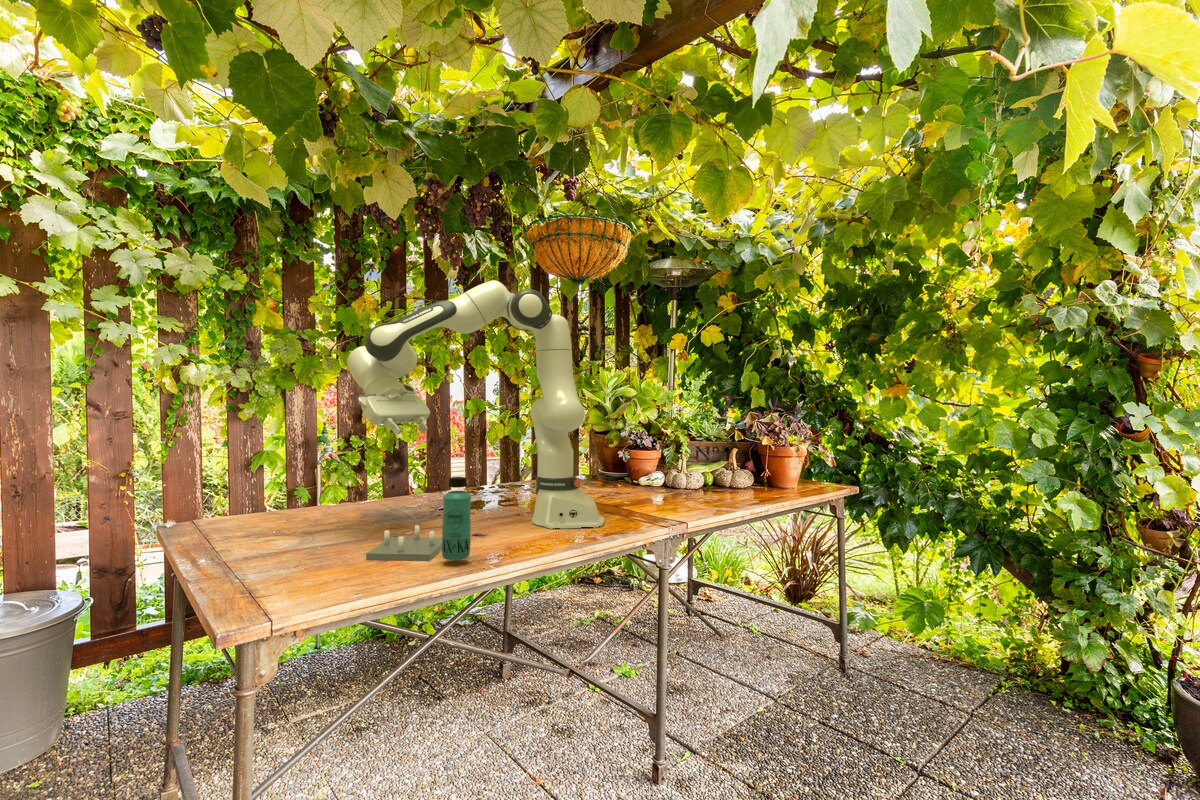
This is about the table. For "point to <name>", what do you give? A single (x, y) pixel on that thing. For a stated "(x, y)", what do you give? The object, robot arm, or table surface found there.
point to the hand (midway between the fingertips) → (412, 431)
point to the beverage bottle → (456, 521)
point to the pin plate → (406, 547)
